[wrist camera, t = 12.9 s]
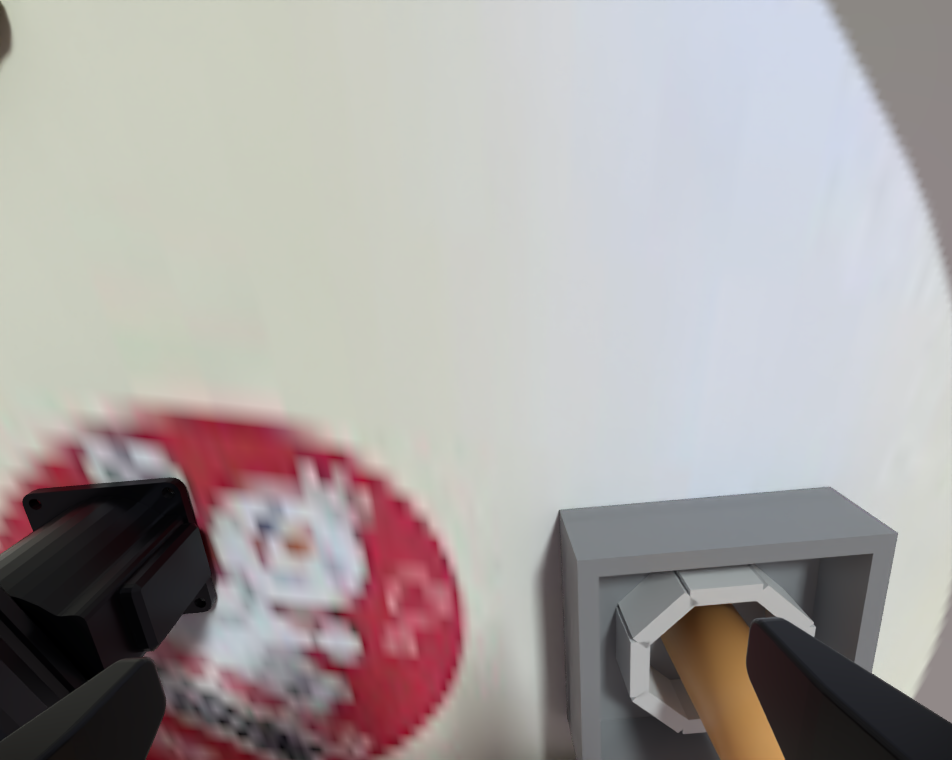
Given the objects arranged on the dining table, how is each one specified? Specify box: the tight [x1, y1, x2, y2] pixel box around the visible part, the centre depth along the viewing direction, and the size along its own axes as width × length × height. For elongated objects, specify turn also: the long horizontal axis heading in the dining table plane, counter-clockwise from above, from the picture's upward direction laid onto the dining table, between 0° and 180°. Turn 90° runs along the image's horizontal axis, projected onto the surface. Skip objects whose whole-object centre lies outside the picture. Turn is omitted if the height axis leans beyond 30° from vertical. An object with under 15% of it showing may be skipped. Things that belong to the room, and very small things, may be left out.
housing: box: [560, 487, 898, 760], centre depth 22 cm, size 12×12×4 cm
